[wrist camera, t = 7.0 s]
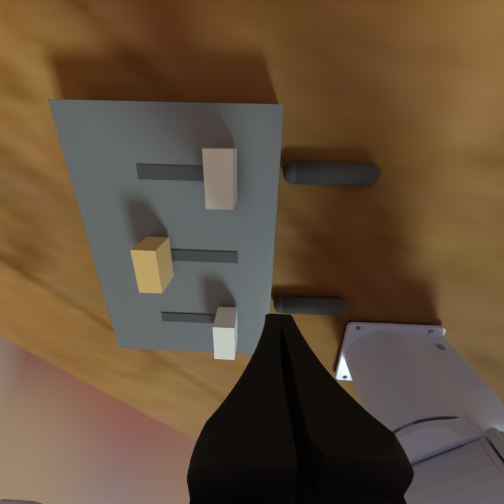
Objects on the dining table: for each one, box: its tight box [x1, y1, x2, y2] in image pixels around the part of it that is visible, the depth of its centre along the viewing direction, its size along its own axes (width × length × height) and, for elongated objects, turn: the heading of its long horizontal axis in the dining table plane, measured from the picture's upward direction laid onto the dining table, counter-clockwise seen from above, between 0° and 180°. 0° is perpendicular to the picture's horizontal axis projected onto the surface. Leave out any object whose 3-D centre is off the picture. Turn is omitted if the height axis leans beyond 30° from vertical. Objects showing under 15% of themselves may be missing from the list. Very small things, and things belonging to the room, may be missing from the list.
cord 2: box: [274, 296, 348, 316], centre depth 23 cm, size 7×2×2 cm, turn 89°
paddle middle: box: [130, 236, 174, 293], centre depth 17 cm, size 2×3×2 cm, turn 179°
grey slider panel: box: [48, 99, 284, 354], centre depth 20 cm, size 14×20×3 cm
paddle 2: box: [213, 307, 238, 360], centre depth 19 cm, size 2×3×2 cm, turn 179°
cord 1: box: [284, 161, 381, 186], centre depth 18 cm, size 7×2×2 cm, turn 89°
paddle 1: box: [202, 148, 237, 210], centre depth 14 cm, size 2×3×2 cm, turn 179°
